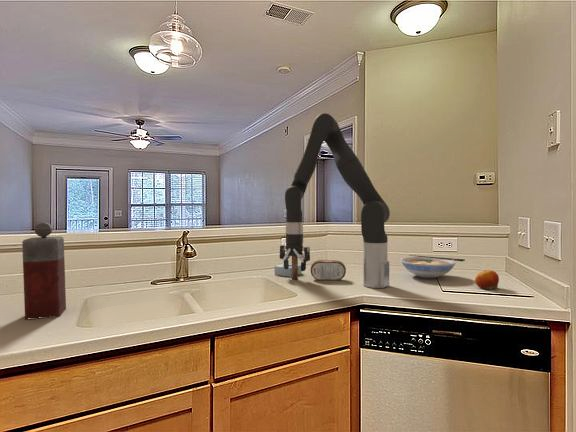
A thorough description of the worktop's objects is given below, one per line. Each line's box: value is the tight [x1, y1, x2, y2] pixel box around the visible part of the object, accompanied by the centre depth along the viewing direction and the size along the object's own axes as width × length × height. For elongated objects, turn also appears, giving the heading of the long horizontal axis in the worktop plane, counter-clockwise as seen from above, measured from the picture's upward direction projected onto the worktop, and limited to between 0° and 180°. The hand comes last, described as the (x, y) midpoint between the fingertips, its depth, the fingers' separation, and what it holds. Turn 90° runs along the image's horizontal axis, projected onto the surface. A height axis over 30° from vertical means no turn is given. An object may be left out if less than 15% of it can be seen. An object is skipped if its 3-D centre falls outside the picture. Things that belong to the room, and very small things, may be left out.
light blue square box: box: [273, 263, 303, 278], centre depth 171 cm, size 9×9×4 cm
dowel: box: [291, 256, 299, 281], centre depth 159 cm, size 3×3×10 cm
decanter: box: [21, 222, 67, 320], centre depth 113 cm, size 9×11×28 cm
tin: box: [310, 259, 347, 282], centre depth 157 cm, size 15×3×8 cm, turn 84°
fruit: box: [474, 269, 500, 290], centre depth 139 cm, size 8×8×8 cm
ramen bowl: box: [400, 254, 466, 279], centre depth 161 cm, size 25×23×8 cm
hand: (294, 270), depth 159 cm, fingers open, 8 cm apart
